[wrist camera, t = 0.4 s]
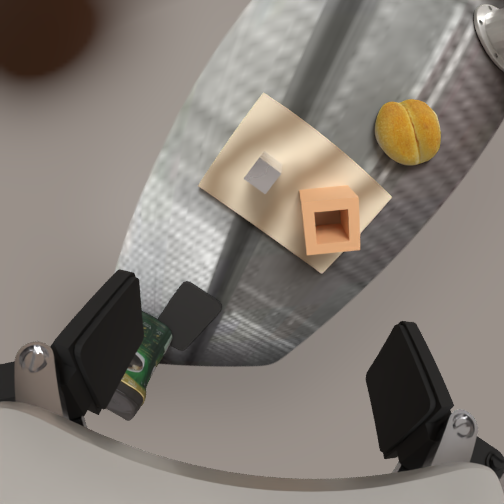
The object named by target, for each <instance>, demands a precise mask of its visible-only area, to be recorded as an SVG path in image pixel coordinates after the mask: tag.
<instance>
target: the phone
mask: <svg viewBox="0 0 504 504" xmlns="http://www.w3.org/2000/svg"><path fill="white" fill-rule="evenodd" d="M221 308H222V304H221V303H220V302H219V301H218V300H217V299H215V298H214V297H212V296H211V295H209V294H208V293H206V292H205V291H203V290H202V289H200V288H199V287H197V286H196V285H194V284H193V283H191V282H188V281H186V282H183V283H182V284H181V286H180V287H179V289H177V292H176V293H175V294H174V295H173V297H172V298H171V299H170V301H169V303H168V304H167V306H166V307H165V309H164V310H163V312H162V313H161V315H160V316H159V318H158V320H159V321H161V322H162V323H164V324H165V325H166V326H168V327H169V329H170V330H171V332H172V340H171V343H170V345H171V346H173V347H174V348H176V349H178V350H181V351H183V350H185V349H186V348H187V347H188V346H189V345H190V344H191V343H192V342H193V340H194V339H195V338H196V337H197V336H198V335H199V334H200V333H201V332H202V331H203V330H204V329H205V327H206V326H207V325H208V324H209V323H210V322H211V321H212V320H213V319H214V318H215V317H216V315H217V314H218V313H219V312H220V311H221Z"/></svg>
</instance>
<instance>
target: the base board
mask: <svg viewBox="0 0 504 504" xmlns="http://www.w3.org/2000/svg"><path fill="white" fill-rule="evenodd" d="M264 151H265V152H266V153H268V154H269V155H271V156H272V157H273V158H275V159H276V160H278V161H279V162H280V163H282V173H281V175H280V176H279V177H278V179H277V180H276V181H275V183H274V184H273V185H272V186H271V188H270V189H269V190H268V192H267V193H266V194H264V193H263V192H261V191H260V190H259V189H257V188H256V187H254V186H253V185H252V184H250V183H249V182H247V181H246V180H244V177H245V176H246V175H247V173H248V172H249V171H250V169H251V168H252V166H253V165H254V164H255V162H256V161H257V160H258V158H259V157H260V156H261V155H262V153H263V152H264ZM345 185H348V186H349V187H350V188H351V189H352V190H353V191H354V192H355V194H356V195H357V196H358V197H359V217H360V233H361V232H362V231H363V230H364V229H365V228H366V226H367V225H368V224H369V223H370V222H371V221H372V220H373V219H374V217H375V216H376V215H377V214H378V213H379V212H380V211H381V209H382V208H383V207H384V206H385V205H386V204H387V203H388V201H389V200H390V199H391V198H392V197H391V196H390V195H389V194H388V193H387V192H386V191H385V190H384V189H383V188H382V187H381V186H380V185H379V184H378V183H377V182H376V181H375V180H374V179H373V178H372V177H371V176H370V175H369V174H367V173H366V172H365V171H364V170H363V169H362V168H361V167H360V166H359V165H358V164H356V163H355V162H354V161H353V160H352V159H351V158H350V157H348V156H347V155H346V154H345V153H344V152H343V151H341V150H340V149H339V148H338V147H337V146H335V145H334V144H333V143H332V142H330V141H329V140H328V139H327V138H326V137H324V136H323V135H322V134H320V133H319V132H318V131H317V130H315V129H314V128H313V127H311V126H310V125H309V124H307V123H306V122H305V121H303V120H302V119H301V118H299V117H298V116H297V115H295V114H294V113H293V112H291V111H290V110H288V109H287V108H286V107H284V106H283V105H281V104H280V103H278V102H277V101H275V100H274V99H272V98H271V97H269V96H268V95H266V94H265V93H263V94H262V95H261V96H260V98H259V99H258V100H257V102H256V103H255V104H254V106H253V107H252V108H251V110H250V111H249V112H248V114H247V115H246V116H245V118H244V119H243V120H242V122H241V123H240V125H239V126H238V127H237V129H236V130H235V132H234V133H233V134H232V136H231V137H230V139H229V140H228V141H227V143H226V144H225V146H224V147H223V149H222V150H221V152H220V153H219V155H218V156H217V158H216V159H215V160H214V162H213V163H212V165H211V166H210V168H209V170H208V171H207V173H206V174H205V176H204V177H203V179H202V180H201V182H200V183H199V185H198V186H199V187H200V188H202V189H203V190H205V191H206V192H208V193H209V194H210V195H212V196H213V197H215V198H216V199H218V200H219V201H221V202H222V203H223V204H225V205H226V206H228V207H229V208H231V209H232V210H234V211H235V212H236V213H238V214H239V215H241V216H242V217H243V218H245V219H246V220H248V221H249V222H251V223H252V224H253V225H255V226H256V227H258V228H259V229H260V230H262V231H263V232H265V233H266V234H267V235H269V236H270V237H272V238H273V239H274V240H276V241H277V242H279V243H280V244H281V245H283V246H284V247H286V248H287V249H288V250H290V251H291V252H293V253H294V254H295V255H297V256H298V257H299V258H301V259H302V260H304V261H305V262H306V263H308V264H309V265H310V266H312V267H313V268H315V269H316V270H317V271H319V272H320V273H321V274H322V273H323V272H324V271H325V270H326V269H327V268H328V267H329V266H330V265H331V264H332V263H333V262H334V261H335V260H336V259H337V258H338V257H339V256H340V255H341V254H342V253H343V252H336V253H326V254H316V255H307V253H306V245H305V238H304V228H303V219H302V210H301V202H300V194H299V190H303V189H313V188H323V187H333V186H345ZM314 216H315V226H318V225H328V224H338V223H341V218H340V210H334V211H324V212H314Z"/></svg>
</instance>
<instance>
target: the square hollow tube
mask: <svg viewBox="0 0 504 504" xmlns="http://www.w3.org/2000/svg"><path fill="white" fill-rule="evenodd" d="M299 194H300V202H301V210H302V219H303V228H304V238H305V245H306V253H307V255H316V254H326V253H336V252H345V251H355V250H360V217H359V197H358V196H357V195H356V194H355V192H354V191H353V190H352V189H351V188H350V187H349V186H348V185H345V186H333V187H323V188H313V189H303V190H299ZM334 210H340V218H341V223H338V224H328V225H318V226H315V216H314V212H324V211H334Z"/></svg>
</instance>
